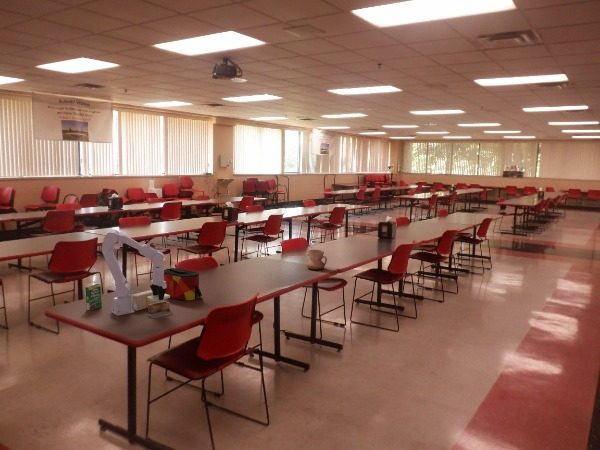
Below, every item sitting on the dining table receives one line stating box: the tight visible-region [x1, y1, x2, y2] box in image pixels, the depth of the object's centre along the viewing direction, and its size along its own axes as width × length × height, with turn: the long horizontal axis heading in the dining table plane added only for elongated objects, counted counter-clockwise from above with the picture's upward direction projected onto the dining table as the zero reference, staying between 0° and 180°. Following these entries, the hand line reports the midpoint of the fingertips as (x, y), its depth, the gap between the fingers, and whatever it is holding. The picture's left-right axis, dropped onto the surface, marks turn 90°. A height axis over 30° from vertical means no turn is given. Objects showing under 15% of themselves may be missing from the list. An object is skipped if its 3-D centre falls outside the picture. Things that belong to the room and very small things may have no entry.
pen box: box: [147, 300, 170, 314], centre depth 255 cm, size 10×4×4 cm, turn 133°
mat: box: [147, 310, 173, 319], centre depth 249 cm, size 10×7×1 cm
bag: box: [164, 267, 203, 302], centre depth 284 cm, size 30×14×16 cm, turn 57°
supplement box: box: [131, 289, 157, 311], centre depth 261 cm, size 8×5×13 cm
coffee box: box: [84, 283, 103, 312], centre depth 256 cm, size 8×3×13 cm, turn 151°
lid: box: [147, 294, 171, 302], centre depth 255 cm, size 11×5×1 cm, turn 133°
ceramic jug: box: [305, 249, 328, 271], centre depth 365 cm, size 18×14×14 cm
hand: (158, 298), depth 255 cm, fingers closed on lid, 5 cm apart
